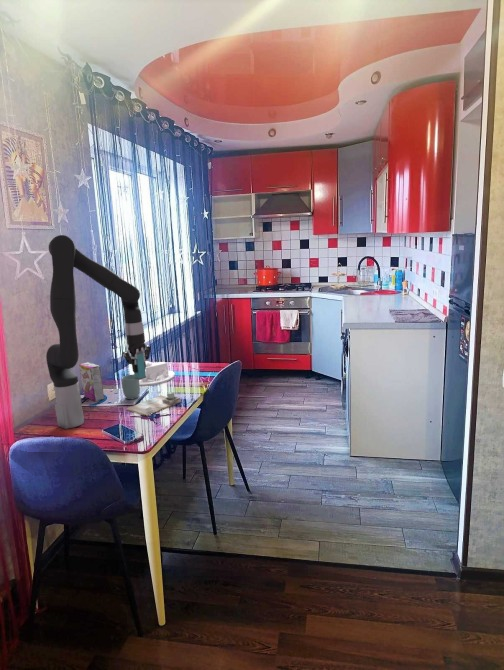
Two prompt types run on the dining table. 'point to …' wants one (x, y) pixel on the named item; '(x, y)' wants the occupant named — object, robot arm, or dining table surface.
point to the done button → (170, 395)
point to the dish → (156, 374)
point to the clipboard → (153, 405)
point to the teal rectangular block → (140, 366)
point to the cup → (130, 386)
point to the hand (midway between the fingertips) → (139, 371)
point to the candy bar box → (91, 381)
